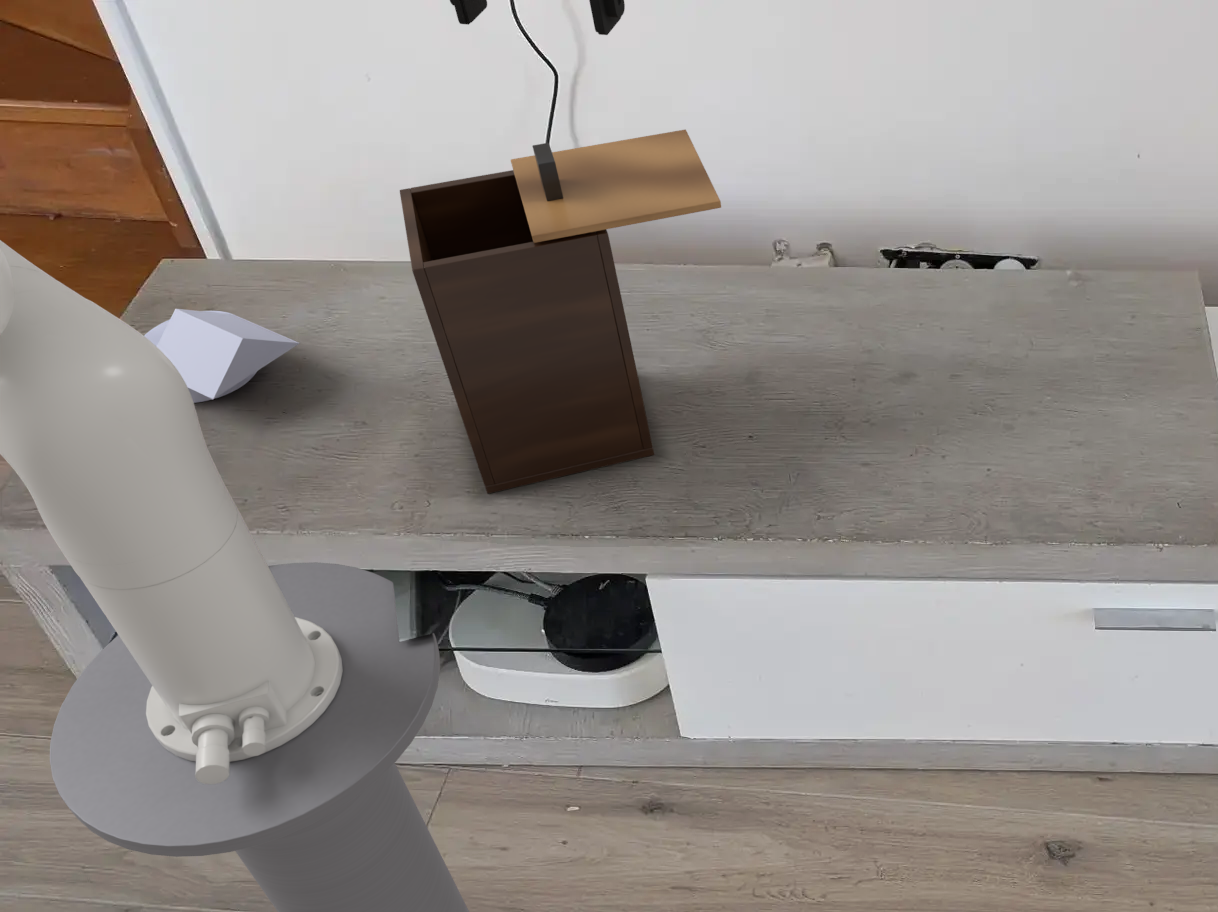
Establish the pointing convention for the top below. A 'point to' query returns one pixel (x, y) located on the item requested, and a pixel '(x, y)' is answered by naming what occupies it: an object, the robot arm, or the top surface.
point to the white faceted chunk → (216, 350)
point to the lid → (612, 185)
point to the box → (525, 333)
